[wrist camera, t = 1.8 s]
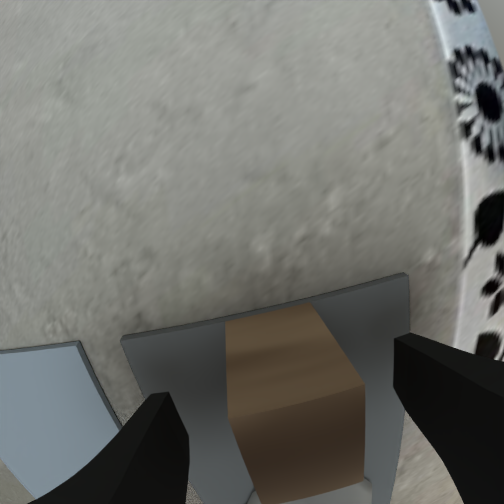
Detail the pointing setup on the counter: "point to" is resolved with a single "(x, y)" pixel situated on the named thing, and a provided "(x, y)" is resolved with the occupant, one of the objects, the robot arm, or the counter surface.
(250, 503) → the flask
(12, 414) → the slate mat
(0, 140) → the counter surface
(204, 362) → the charcoal mat
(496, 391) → the robot arm
